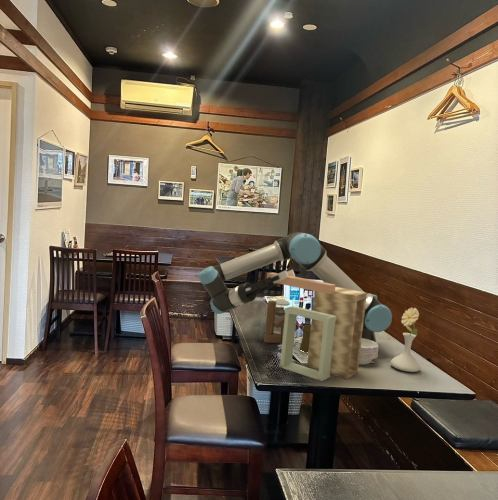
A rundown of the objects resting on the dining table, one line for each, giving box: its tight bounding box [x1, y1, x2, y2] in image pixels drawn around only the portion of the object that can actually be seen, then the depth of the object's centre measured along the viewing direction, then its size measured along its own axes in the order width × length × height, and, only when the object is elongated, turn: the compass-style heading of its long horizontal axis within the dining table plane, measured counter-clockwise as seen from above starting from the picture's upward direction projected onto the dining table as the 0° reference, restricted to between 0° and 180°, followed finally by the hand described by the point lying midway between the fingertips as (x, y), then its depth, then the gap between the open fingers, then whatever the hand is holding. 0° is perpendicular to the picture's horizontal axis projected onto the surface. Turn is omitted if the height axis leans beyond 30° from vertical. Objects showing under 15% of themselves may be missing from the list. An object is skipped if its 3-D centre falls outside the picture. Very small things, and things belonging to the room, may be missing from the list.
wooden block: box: [263, 300, 285, 345], centre depth 194 cm, size 4×11×18 cm, turn 95°
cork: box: [299, 324, 311, 352], centre depth 186 cm, size 6×6×11 cm
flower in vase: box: [390, 307, 422, 373], centre depth 173 cm, size 13×11×25 cm
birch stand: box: [306, 287, 368, 380], centre depth 166 cm, size 16×10×30 cm, turn 54°
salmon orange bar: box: [266, 272, 335, 294], centre depth 162 cm, size 26×4×3 cm, turn 54°
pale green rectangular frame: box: [278, 305, 337, 382], centre depth 161 cm, size 18×6×22 cm, turn 54°
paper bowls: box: [359, 338, 379, 365], centre depth 180 cm, size 15×15×8 cm
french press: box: [273, 284, 291, 334], centre depth 212 cm, size 10×12×25 cm
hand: (290, 273), depth 165 cm, fingers closed on salmon orange bar, 4 cm apart
